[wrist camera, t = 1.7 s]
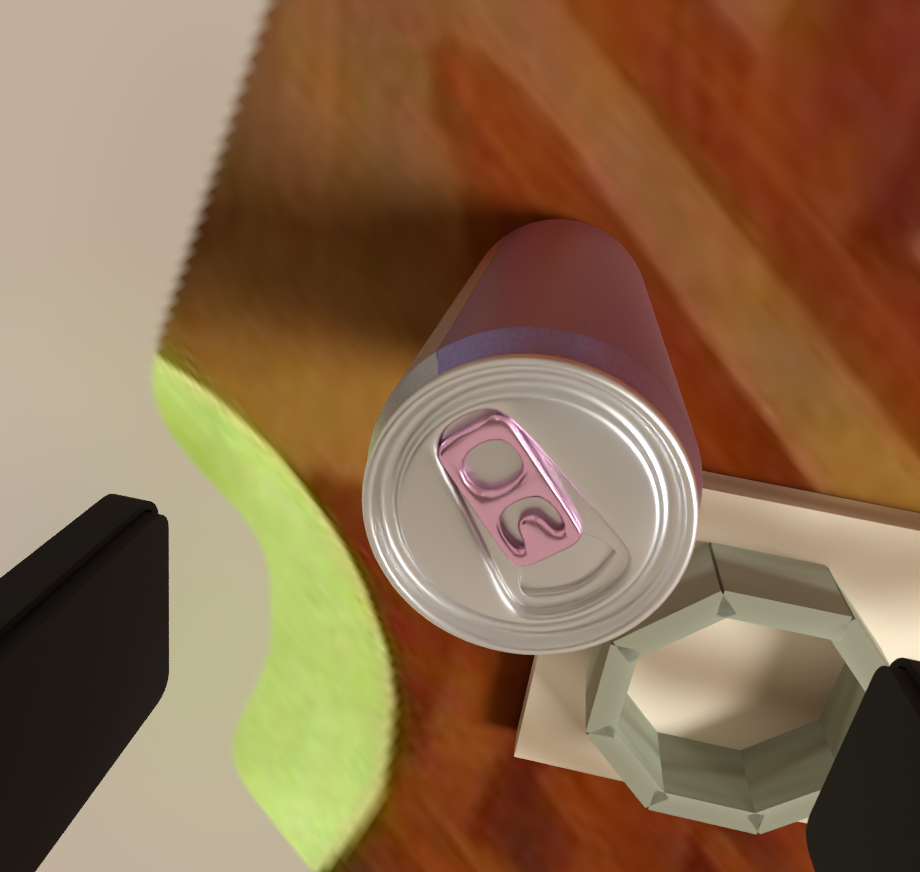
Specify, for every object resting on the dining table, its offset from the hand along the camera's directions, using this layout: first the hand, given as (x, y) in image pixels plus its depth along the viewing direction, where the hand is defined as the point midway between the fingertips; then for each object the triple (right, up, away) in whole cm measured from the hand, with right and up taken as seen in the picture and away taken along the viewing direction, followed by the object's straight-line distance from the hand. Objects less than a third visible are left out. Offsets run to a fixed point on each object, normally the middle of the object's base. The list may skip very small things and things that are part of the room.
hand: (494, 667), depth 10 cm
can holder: (+10, -5, +20) cm, 23 cm away
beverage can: (+3, +8, +16) cm, 18 cm away
